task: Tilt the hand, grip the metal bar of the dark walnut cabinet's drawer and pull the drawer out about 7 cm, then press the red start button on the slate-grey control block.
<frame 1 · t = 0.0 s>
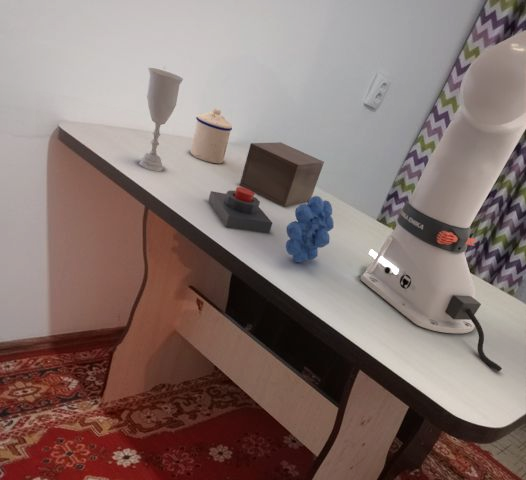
lidded canister: (203, 156, 120), on the table
control block: (238, 217, 90), on the table
chalice: (151, 167, 100), on the table
cabinet: (276, 193, 112), on the table
drawer: (290, 172, 113), point 5 cm above the table, slide at 0.5 cm
start button: (244, 195, 88), point 4 cm above the table, slide at 0.1 cm
grapes: (301, 266, 80), on the table
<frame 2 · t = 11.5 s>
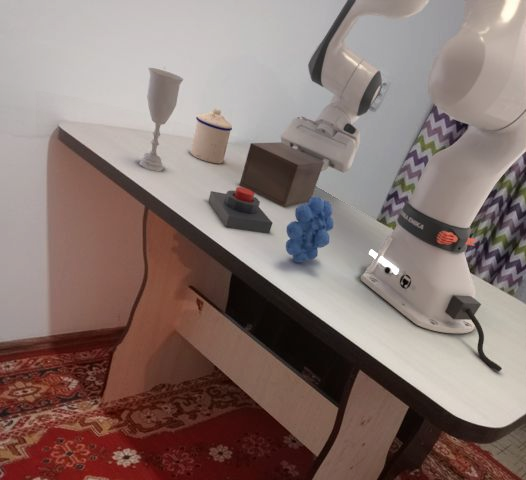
hand: (302, 168, 117), 5 cm above the table, tool tilted 45°, fingers closed on drawer, 5 cm apart
drawer: (290, 172, 113), point 5 cm above the table, slide at 0.5 cm, touching gripper
everything else where it was.
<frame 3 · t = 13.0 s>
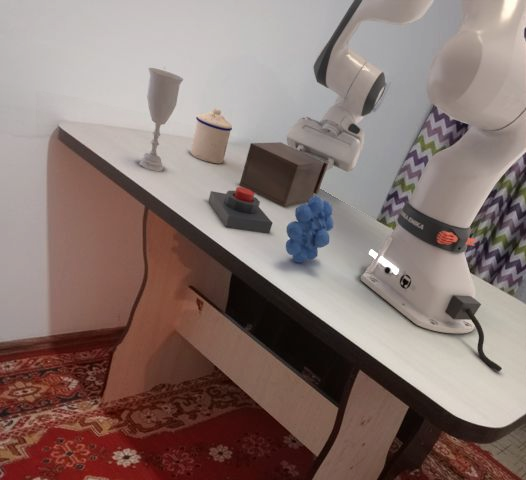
hand: (307, 167, 120), 5 cm above the table, tool tilted 45°, fingers closed on drawer, 5 cm apart
drawer: (296, 171, 115), point 5 cm above the table, slide at 3.8 cm, touching gripper
everything else where it was.
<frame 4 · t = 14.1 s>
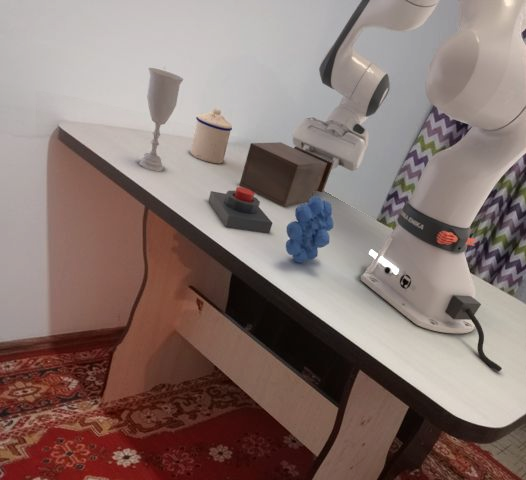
hand: (313, 167, 123), 5 cm above the table, tool tilted 45°, fingers closed on drawer, 5 cm apart
drawer: (302, 170, 118), point 5 cm above the table, slide at 7.5 cm, touching gripper
everything else where it was.
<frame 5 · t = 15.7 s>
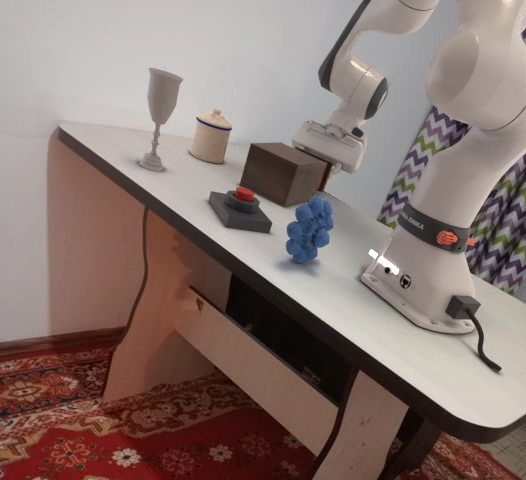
hand: (311, 170, 123), 5 cm above the table, tool tilted 45°, fingers open, 8 cm apart
drawer: (302, 170, 118), point 5 cm above the table, slide at 7.7 cm
everything else where it was.
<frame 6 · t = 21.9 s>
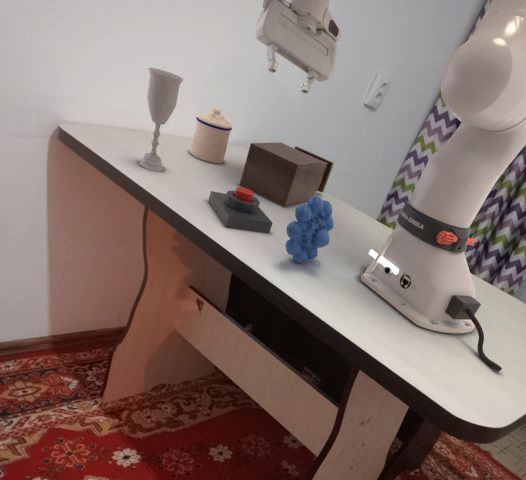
hand: (288, 81, 101), 23 cm above the table, tool tilted 25°, fingers open, 8 cm apart
nothing on the table moved.
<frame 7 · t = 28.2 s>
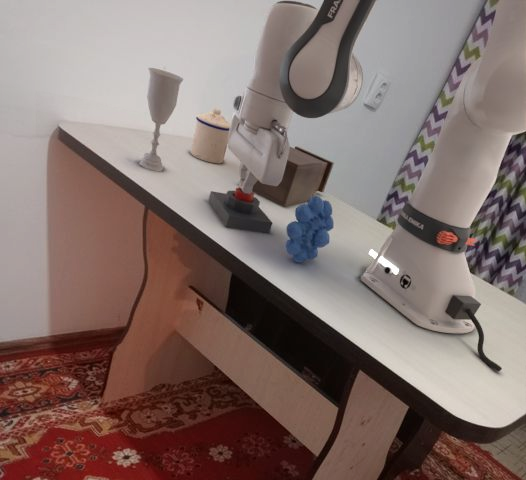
hand: (244, 190, 87), 5 cm above the table, tool pointing down, fingers closed, pressing on start button
start button: (243, 195, 88), point 4 cm above the table, slide at -0.1 cm, touching gripper
everything else where it was.
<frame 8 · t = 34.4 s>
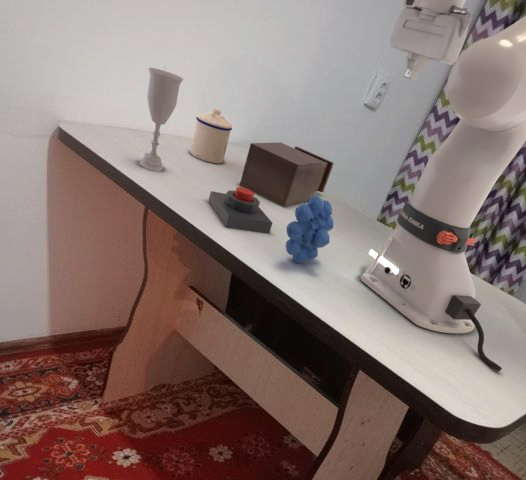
hand: (409, 79, 102), 31 cm above the table, tool pointing down, fingers closed
start button: (244, 195, 88), point 4 cm above the table, slide at 0.1 cm
everything else where it was.
at the end: drawer slide at 7.7 cm; start button pushed in 1.0 cm at the most during the clip, back to where it started at the end; start button slide at 0.1 cm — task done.
